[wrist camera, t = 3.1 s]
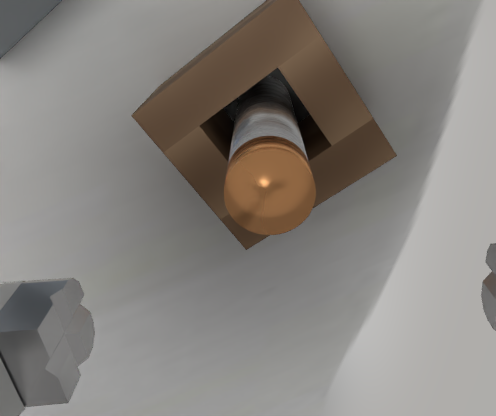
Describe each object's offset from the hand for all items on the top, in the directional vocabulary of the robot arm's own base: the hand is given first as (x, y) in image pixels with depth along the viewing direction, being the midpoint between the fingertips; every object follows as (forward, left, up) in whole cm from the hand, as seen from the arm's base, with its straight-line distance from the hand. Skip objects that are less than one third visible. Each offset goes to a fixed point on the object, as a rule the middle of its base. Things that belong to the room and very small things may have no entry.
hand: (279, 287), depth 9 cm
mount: (0, 0, -17) cm, 17 cm away
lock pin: (0, 0, -17) cm, 17 cm away
